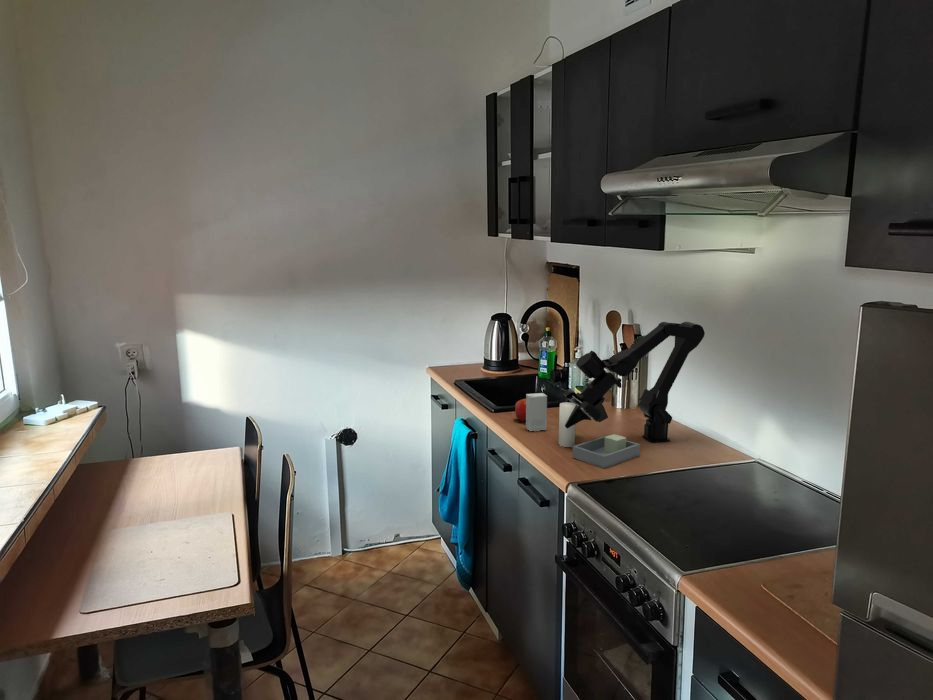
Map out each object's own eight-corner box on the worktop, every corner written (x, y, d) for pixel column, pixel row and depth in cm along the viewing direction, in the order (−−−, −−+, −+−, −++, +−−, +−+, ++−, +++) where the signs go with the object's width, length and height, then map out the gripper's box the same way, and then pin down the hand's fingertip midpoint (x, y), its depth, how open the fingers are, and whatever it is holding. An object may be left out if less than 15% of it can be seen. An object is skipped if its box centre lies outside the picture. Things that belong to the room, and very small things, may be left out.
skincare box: (542, 427, 230) (543, 392, 228) (547, 431, 226) (548, 395, 223) (524, 428, 228) (525, 393, 226) (529, 432, 224) (530, 396, 222)
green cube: (604, 451, 204) (604, 437, 203) (613, 448, 207) (614, 434, 206) (616, 455, 201) (617, 440, 200) (625, 452, 204) (626, 437, 203)
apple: (535, 425, 232) (536, 403, 230) (511, 423, 234) (511, 400, 233) (540, 419, 239) (541, 397, 238) (517, 417, 242) (517, 395, 240)
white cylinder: (571, 442, 215) (572, 401, 212) (577, 447, 210) (578, 406, 208) (556, 443, 214) (557, 402, 211) (562, 448, 209) (563, 407, 206)
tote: (607, 445, 211) (608, 435, 210) (639, 455, 202) (640, 444, 202) (572, 457, 200) (572, 446, 200) (604, 468, 192) (604, 456, 191)
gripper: (627, 413, 204) (591, 451, 203) (602, 397, 222) (569, 432, 221) (603, 388, 201) (566, 427, 200) (580, 374, 219) (546, 410, 218)
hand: (562, 424), depth 210 cm, fingers closed on white cylinder, 5 cm apart
